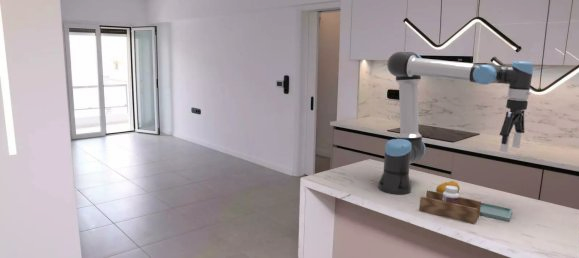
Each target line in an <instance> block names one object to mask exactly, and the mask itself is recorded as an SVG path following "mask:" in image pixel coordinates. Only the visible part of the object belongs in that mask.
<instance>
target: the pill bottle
mask: <svg viewBox="0 0 579 258" xmlns="http://www.w3.org/2000/svg"><path fill="white" fill-rule="evenodd" d="M445 190H446V191H444V192H443V198H442V201H445V202H449V203H454V204H458V203H459V197H460V194H459V192H458V188H457V187H455V186H446V188H445ZM457 192H458V193H457Z"/></svg>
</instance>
